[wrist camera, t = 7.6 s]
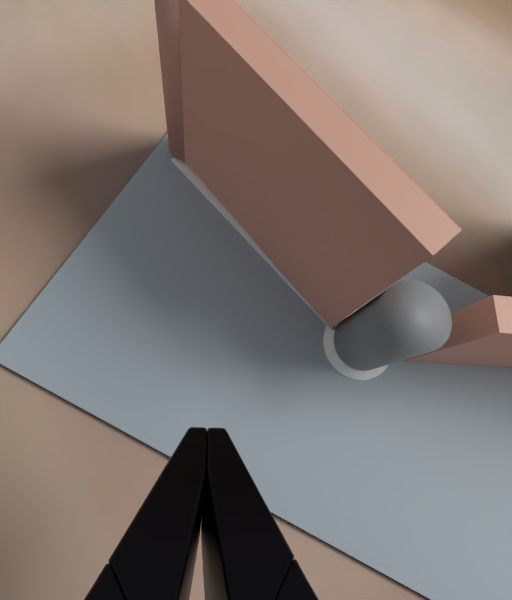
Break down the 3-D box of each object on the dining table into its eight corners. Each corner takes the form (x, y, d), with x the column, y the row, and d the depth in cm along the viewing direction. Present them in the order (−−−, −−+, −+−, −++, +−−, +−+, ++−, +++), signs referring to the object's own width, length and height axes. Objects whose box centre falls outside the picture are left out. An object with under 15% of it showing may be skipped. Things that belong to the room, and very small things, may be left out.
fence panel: (398, 346, 19) (564, 284, 10) (361, 382, 18) (510, 347, 9) (196, 122, 21) (197, -78, 13) (155, 145, 20) (126, -54, 12)
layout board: (500, 637, 16) (507, 641, 16) (-9, 358, 16) (-13, 357, 16) (560, 336, 21) (566, 334, 21) (172, 129, 21) (172, 124, 21)
